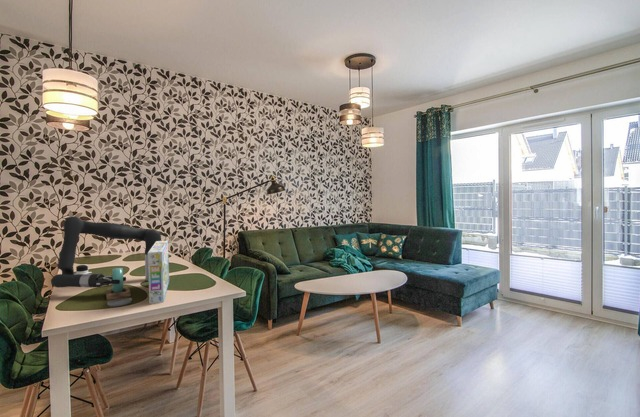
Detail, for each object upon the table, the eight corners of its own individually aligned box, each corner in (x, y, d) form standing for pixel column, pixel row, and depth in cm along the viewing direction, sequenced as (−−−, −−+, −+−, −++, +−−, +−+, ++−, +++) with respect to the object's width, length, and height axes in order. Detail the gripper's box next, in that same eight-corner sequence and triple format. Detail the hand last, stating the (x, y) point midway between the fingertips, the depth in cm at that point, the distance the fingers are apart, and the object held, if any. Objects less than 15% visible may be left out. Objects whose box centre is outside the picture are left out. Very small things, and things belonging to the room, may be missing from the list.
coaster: (131, 298, 173) (131, 296, 173) (133, 303, 164) (133, 301, 164) (106, 302, 167) (106, 300, 167) (107, 308, 158) (107, 306, 158)
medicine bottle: (82, 286, 196) (81, 266, 196) (72, 285, 198) (72, 266, 197) (92, 282, 203) (92, 264, 203) (83, 282, 205) (82, 263, 204)
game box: (157, 283, 201) (156, 241, 200) (169, 282, 204) (168, 240, 202) (148, 304, 163) (147, 251, 162) (163, 302, 166) (162, 251, 165)
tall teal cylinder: (123, 293, 181) (122, 267, 180) (123, 295, 177) (123, 269, 176) (112, 295, 178) (111, 268, 178) (113, 297, 174) (112, 270, 173)
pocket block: (128, 291, 185) (128, 287, 185) (130, 296, 176) (130, 291, 176) (106, 294, 179) (106, 290, 179) (106, 300, 170) (106, 295, 170)
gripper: (82, 277, 170) (114, 277, 170) (100, 270, 184) (130, 270, 184) (82, 291, 170) (114, 290, 170) (101, 283, 185) (130, 283, 185)
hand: (122, 280), depth 177 cm, fingers closed on tall teal cylinder, 5 cm apart
